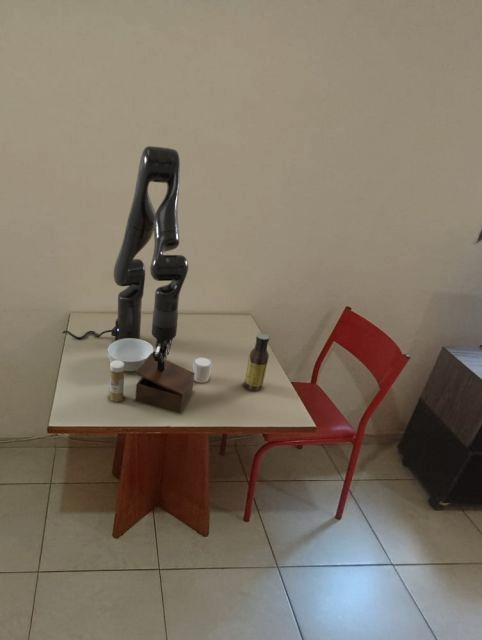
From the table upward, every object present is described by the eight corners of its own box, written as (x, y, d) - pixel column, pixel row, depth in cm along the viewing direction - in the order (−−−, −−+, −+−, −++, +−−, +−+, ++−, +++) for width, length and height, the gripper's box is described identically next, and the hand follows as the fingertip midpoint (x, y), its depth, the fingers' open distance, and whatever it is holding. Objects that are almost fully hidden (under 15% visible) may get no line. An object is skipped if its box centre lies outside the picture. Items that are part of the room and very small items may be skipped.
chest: (135, 401, 146) (136, 384, 142) (150, 380, 156) (151, 364, 152) (180, 413, 141) (182, 396, 137) (192, 391, 151) (194, 375, 147)
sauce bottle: (252, 379, 158) (263, 329, 147) (265, 388, 154) (278, 337, 143) (239, 384, 156) (249, 334, 144) (252, 393, 151) (264, 342, 140)
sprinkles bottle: (107, 398, 146) (107, 363, 139) (116, 392, 149) (116, 358, 142) (117, 404, 144) (118, 369, 137) (126, 398, 147) (127, 363, 139)
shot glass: (211, 375, 160) (214, 358, 156) (208, 385, 155) (210, 368, 151) (193, 371, 162) (195, 355, 158) (188, 381, 156) (191, 364, 152)
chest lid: (135, 374, 140) (136, 372, 140) (150, 354, 150) (151, 352, 150) (181, 396, 137) (182, 394, 137) (194, 374, 147) (194, 373, 147)
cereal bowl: (120, 350, 173) (120, 333, 169) (159, 360, 167) (161, 344, 164) (99, 370, 161) (99, 353, 157) (140, 382, 155) (141, 365, 151)
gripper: (160, 310, 140) (157, 357, 150) (145, 327, 130) (142, 377, 140) (183, 315, 138) (178, 362, 147) (169, 332, 128) (165, 382, 137)
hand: (161, 369), depth 143 cm, fingers closed
